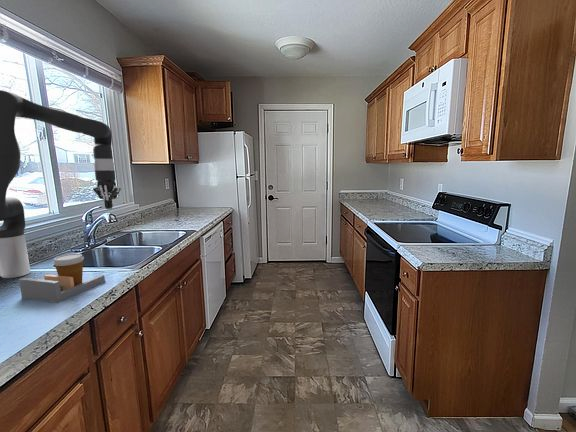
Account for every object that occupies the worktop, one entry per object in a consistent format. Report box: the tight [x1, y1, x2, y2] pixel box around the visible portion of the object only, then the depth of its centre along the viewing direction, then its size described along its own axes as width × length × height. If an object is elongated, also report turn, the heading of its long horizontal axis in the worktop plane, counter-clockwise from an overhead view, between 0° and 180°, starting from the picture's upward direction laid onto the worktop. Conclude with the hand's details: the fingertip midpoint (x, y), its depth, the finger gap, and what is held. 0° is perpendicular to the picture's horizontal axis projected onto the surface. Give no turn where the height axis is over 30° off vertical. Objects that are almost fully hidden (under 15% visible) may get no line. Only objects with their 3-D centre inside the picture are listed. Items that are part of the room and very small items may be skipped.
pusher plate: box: [43, 274, 74, 292], centre depth 109 cm, size 12×3×6 cm, turn 76°
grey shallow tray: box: [18, 274, 106, 303], centre depth 112 cm, size 16×20×7 cm
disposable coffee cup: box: [52, 253, 85, 286], centre depth 114 cm, size 10×10×12 cm
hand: (109, 208), depth 133 cm, fingers closed
